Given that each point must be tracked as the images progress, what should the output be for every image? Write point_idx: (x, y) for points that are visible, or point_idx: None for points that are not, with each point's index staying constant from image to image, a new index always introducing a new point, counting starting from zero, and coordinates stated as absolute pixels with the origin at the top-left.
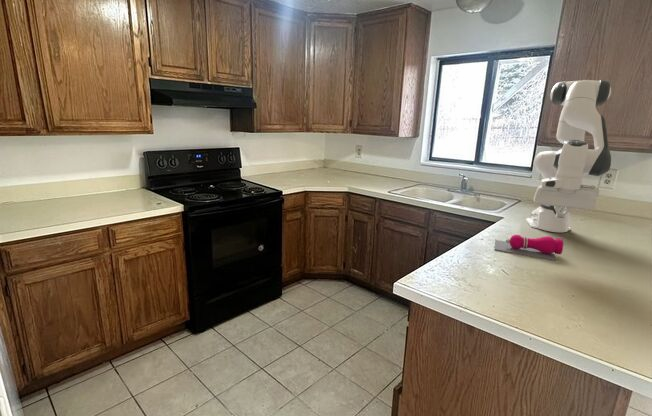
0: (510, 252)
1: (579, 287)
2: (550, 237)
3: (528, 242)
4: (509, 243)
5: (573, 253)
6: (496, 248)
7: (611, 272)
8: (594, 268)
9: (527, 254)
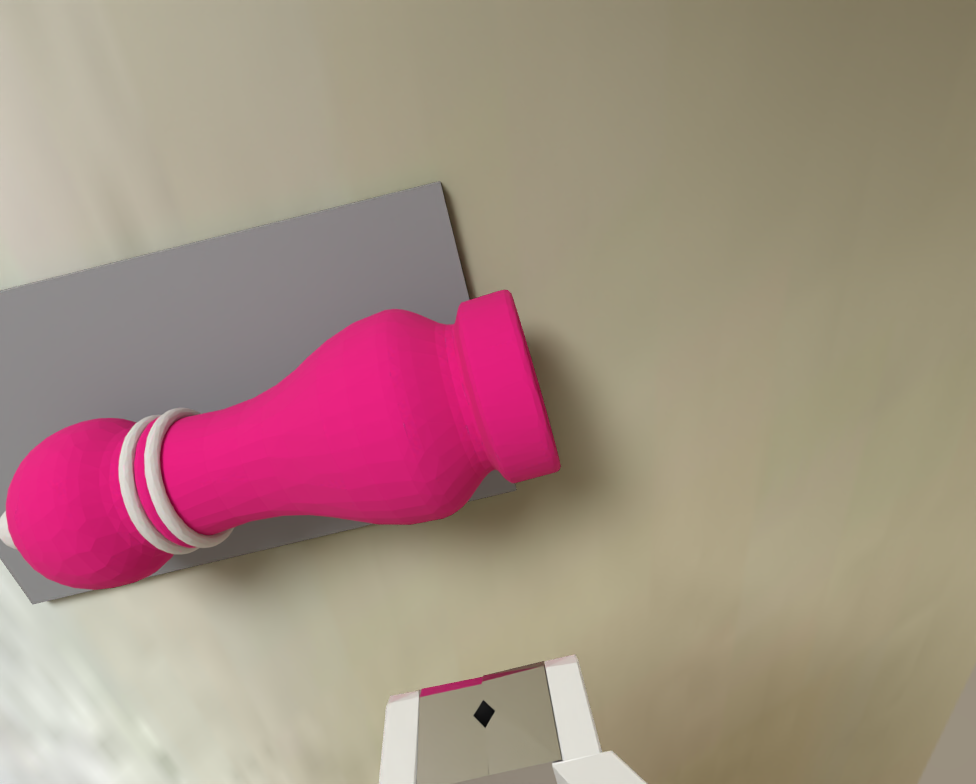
0: (163, 569)
1: (661, 775)
2: (413, 486)
3: (227, 528)
4: (18, 343)
5: (645, 86)
6: (33, 581)
7: (896, 413)
8: (786, 418)
9: (291, 534)
